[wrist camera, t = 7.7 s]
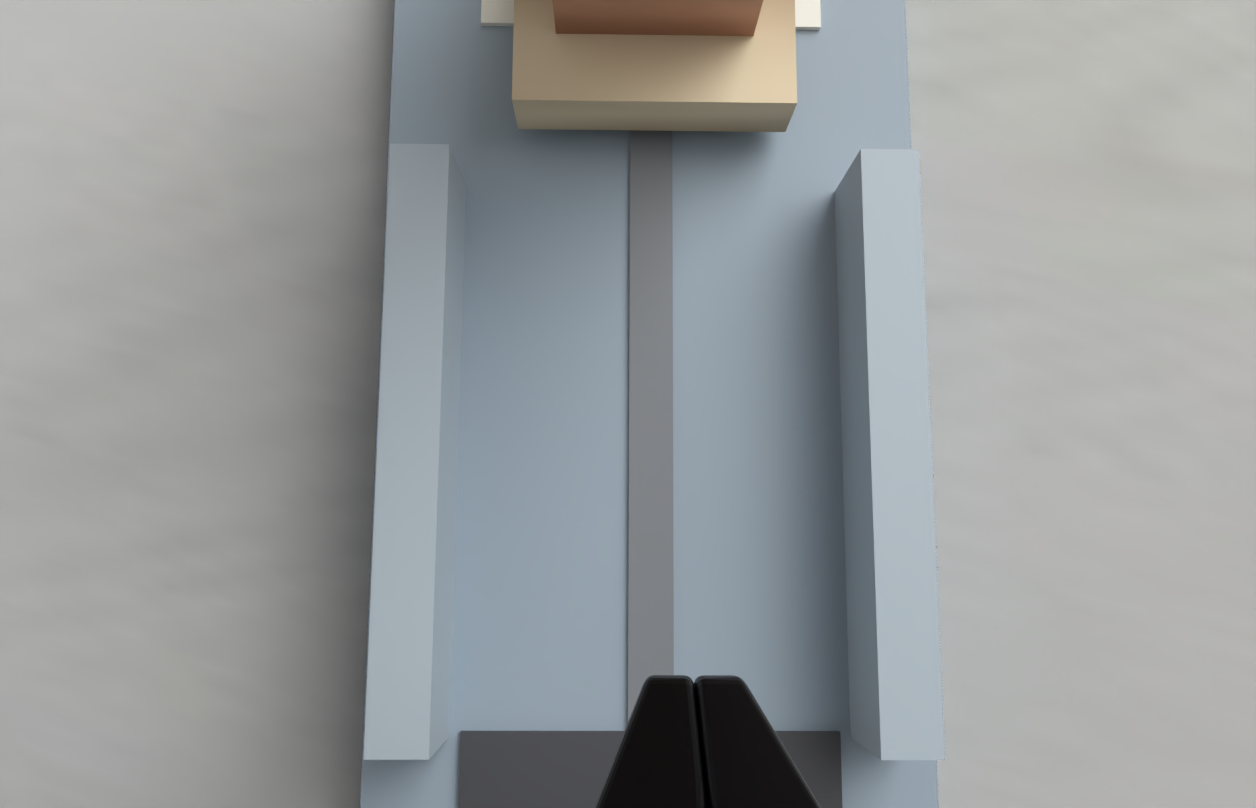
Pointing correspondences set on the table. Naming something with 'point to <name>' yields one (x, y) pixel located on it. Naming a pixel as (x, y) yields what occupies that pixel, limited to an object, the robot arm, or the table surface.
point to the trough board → (649, 427)
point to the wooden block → (654, 65)
